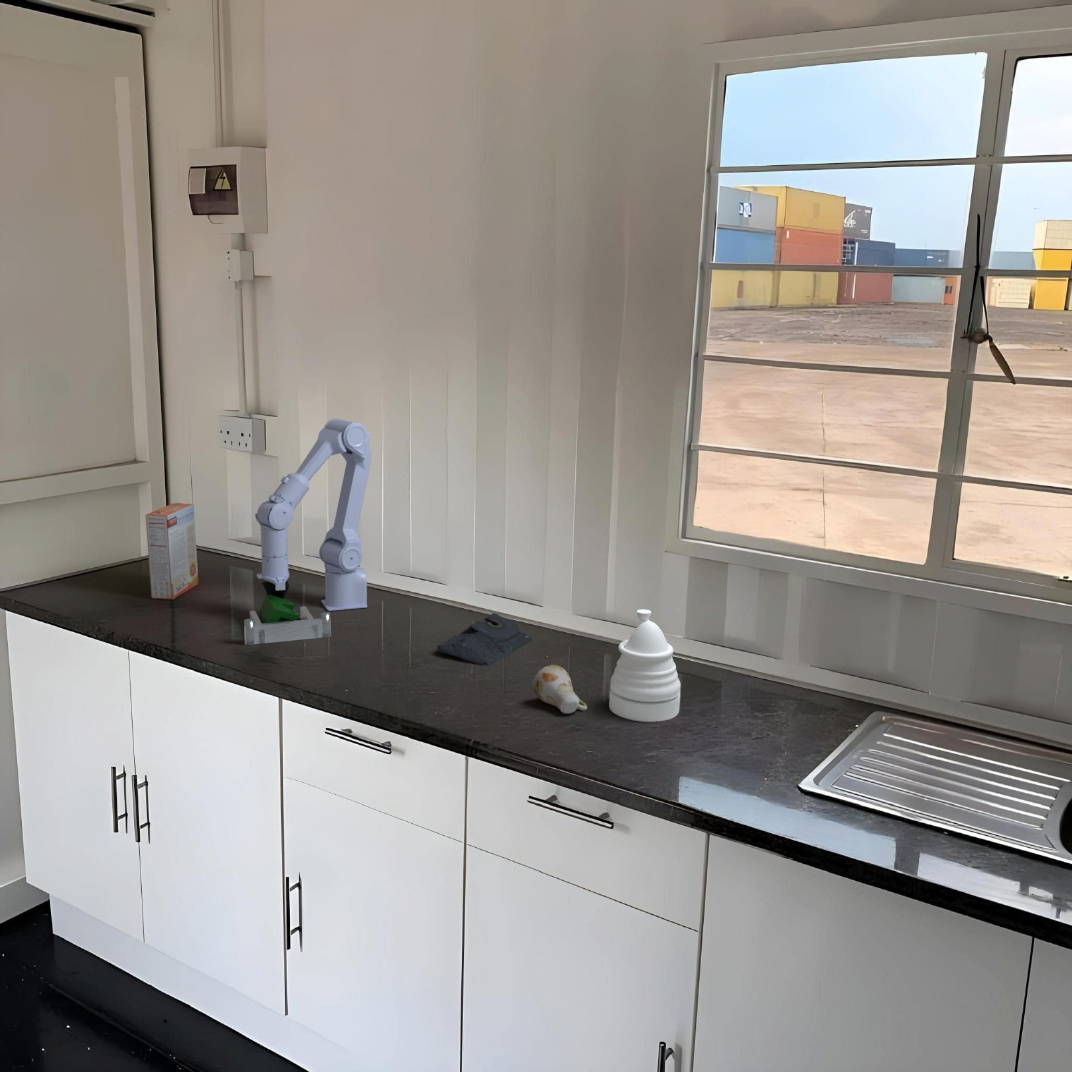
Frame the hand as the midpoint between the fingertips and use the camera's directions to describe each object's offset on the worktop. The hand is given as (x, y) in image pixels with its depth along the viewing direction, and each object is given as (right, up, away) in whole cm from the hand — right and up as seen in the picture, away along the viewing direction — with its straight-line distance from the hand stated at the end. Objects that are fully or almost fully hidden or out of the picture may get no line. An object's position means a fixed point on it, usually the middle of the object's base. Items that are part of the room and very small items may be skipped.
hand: (276, 612), depth 235 cm
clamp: (+2, -3, -7) cm, 8 cm away
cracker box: (-30, +4, +19) cm, 35 cm away
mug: (+63, -14, -45) cm, 79 cm away
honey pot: (+79, -14, -44) cm, 92 cm away
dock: (+4, -3, -8) cm, 9 cm away
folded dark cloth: (+48, -7, -13) cm, 50 cm away
